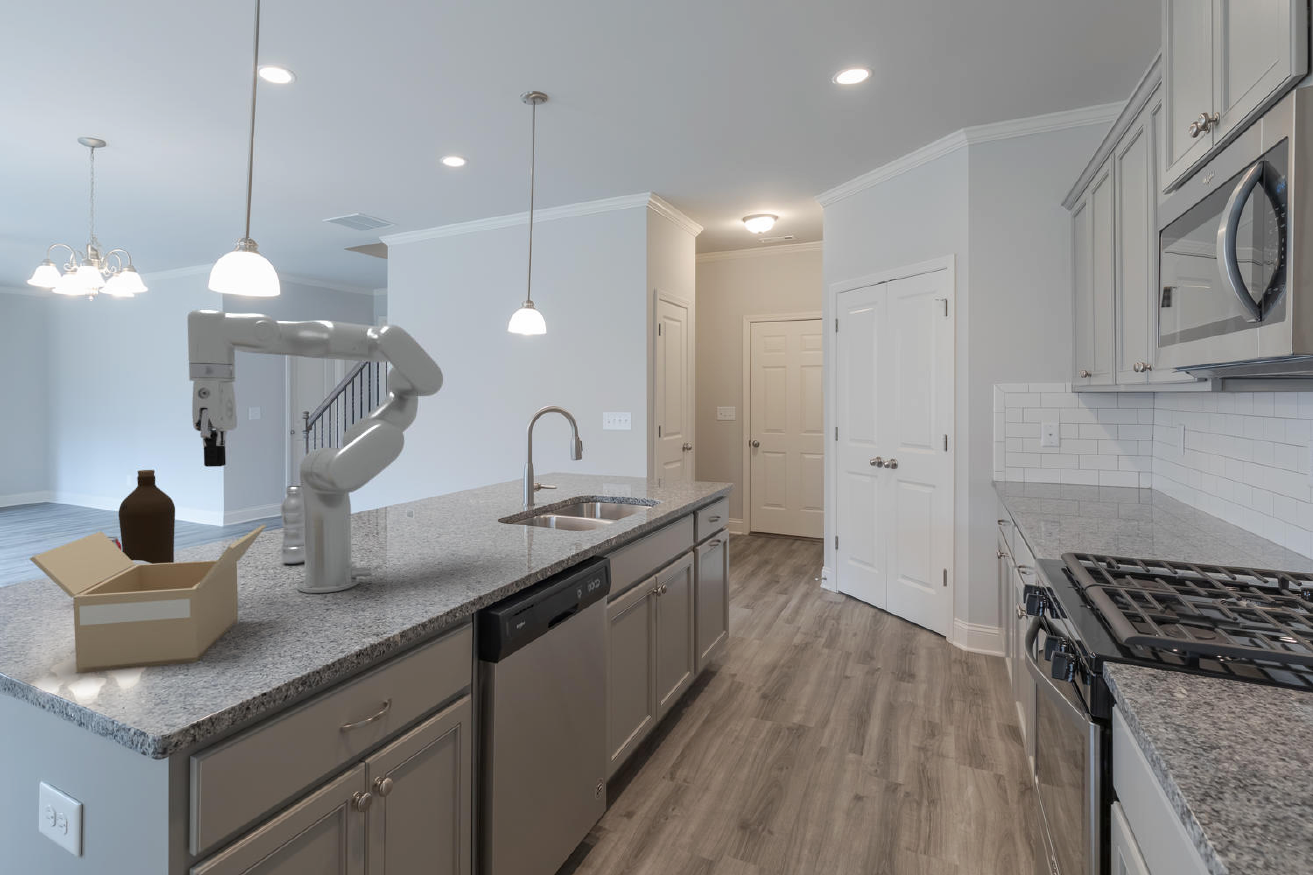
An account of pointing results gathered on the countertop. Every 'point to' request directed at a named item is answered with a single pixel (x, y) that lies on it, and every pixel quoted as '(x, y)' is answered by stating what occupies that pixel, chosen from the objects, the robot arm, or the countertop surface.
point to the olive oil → (147, 522)
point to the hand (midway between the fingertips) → (215, 465)
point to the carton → (153, 616)
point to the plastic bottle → (293, 526)
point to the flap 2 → (231, 556)
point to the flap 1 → (83, 563)
